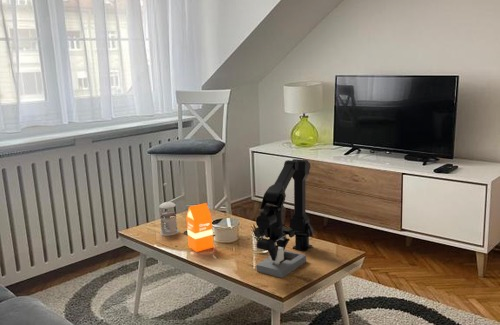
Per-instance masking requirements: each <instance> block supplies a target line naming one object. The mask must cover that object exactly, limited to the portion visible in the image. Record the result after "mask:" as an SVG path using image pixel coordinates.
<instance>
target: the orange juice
mask: <svg viewBox="0 0 500 325" xmlns="http://www.w3.org/2000/svg"><path fill="white" fill-rule="evenodd" d="M186 228H187V230H186V231H188V235H187V238H188V239H187V240H188V242H187V243H188V248H190V249H192V250H193V251H194V252H196V253H197V252H200V251H201V252H202V251H204V250H209V249H212V248H214V236H213V233H214V232H213V220H212V213H211V212H210V209H209V206H208V203H207V202H203V203H201V204H195V205H191V206H189V207H188V211H187V214H186Z"/></svg>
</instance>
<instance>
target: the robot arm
mask: <svg viewBox="0 0 500 325" xmlns="http://www.w3.org/2000/svg"><path fill="white" fill-rule="evenodd" d="M310 171H311V163H310V162H309V160H308V159H297V158H293V159H291V160H289V159H287V160H285V161H284V163H283V167H282V169H281V171H280V173H279V174H278V176H277V179H276V180H275V182H274V183H273V184H272V185H270V186H269V187H268V188H267V189H266V190H265V192H264V194H263V198H262V202H261V205H260V210H261V211H260V214H259V215H258V216H257V217H256V220H255V223H256V226H257V227H255V228H254V230H253V231H254V233H253V234H254V235H255V237H257V238H261V237H264V238H262V239H259V240H257V241H256V249H260V250H264V251H268V253H269V257H270V256H271V258H272V260H273V261H275V259H276V256H277V251H278V247H283V249H284V250H285V249H286V248H287V245H288V243H289V241H290V238H291V239H292V238H294V237H295V238H294V239H295V240H294V241H295V242H294V244H295V245H293V246H292V250H293V249H295V250H298V251H302V252H306V251H308V250H310V249H311V248H312V247H313V245H312V244H310V237H312V236H313V234H314V228H313V226H312V225H311V224H310V218H309V215H308V214H307V212H306V180H307V178H308V176H310ZM291 180H293V201H294V202H293V206H294V207H293V208H294V209H293V211H294V212H293V215H292V216H291V217H290V218H289V227H285V226H286V223H285V222H283V220H284V219H283V208H285V206H284V204H285V201H286V196H287V195H286V190H287V188H288V186H289V184H290V182H291ZM287 236H288V237H289V238H287Z"/></svg>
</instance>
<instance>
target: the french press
mask: <svg viewBox="0 0 500 325" xmlns="http://www.w3.org/2000/svg"><path fill="white" fill-rule="evenodd" d="M163 187H165V188H167V187H168V183H167V182H166V183H165V182H164V183H163ZM165 195H166V196H165V197H166V200H168V196H167V192H165ZM176 205H177V204H176V203H174V202H172V201H165V202H163V203H160V205H159V206H158V207H159V210H158V213H159V214H158V215H159V218H160V228H161V231H160V232H159V234H160V235H161V236H166V237H169V236H175V235H177V234H179V233H180V230H179V229H178V222H177V214H176V212H175V211H173V210H169V209H172V208H175V207H176ZM160 210H161V211H160ZM164 210H165V211H164ZM160 212H161V213H160Z"/></svg>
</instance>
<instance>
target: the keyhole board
mask: <svg viewBox="0 0 500 325" xmlns="http://www.w3.org/2000/svg"><path fill="white" fill-rule="evenodd" d="M284 258H286V259H284V260H283V261H281V262H280V264H279V265H276V264H275V263H274V262H273V261H270V256H269V257H267V258H265V259H264V260H262V261H261V262H259V263H257V264H256V272H258V273H262V274H267V275H269V276H273V277H276V278H280V279H283V278H284V277H286V276H288V275H289V274H290V273H292V272H293V271H295V270H296V269H297V268H299V267H301V266H302V265H304V263H306V262H307V255H306V254H303V253H298V252H294V251H291V250H290V251H289V250H285V249H284Z"/></svg>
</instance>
